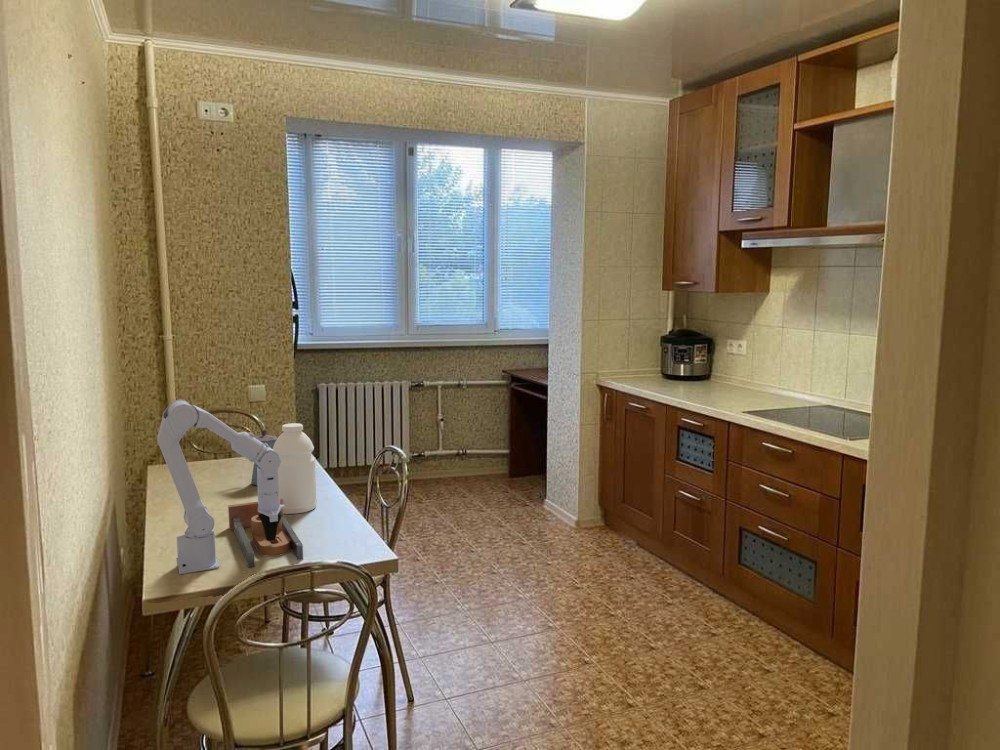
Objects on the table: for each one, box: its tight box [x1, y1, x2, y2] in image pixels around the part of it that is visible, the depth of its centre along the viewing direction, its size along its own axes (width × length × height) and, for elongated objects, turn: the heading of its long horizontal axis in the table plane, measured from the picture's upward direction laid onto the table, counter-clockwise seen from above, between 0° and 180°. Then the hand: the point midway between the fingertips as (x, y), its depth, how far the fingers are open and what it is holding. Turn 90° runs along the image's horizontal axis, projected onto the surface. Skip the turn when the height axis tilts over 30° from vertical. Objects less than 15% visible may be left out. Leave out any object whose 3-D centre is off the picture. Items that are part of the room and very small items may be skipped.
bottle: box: [273, 422, 318, 515], centre depth 241 cm, size 14×14×28 cm
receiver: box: [227, 499, 304, 569], centre depth 211 cm, size 16×36×7 cm, turn 26°
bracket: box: [251, 515, 292, 557], centre depth 208 cm, size 18×8×7 cm, turn 30°
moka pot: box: [251, 430, 278, 487], centre depth 272 cm, size 10×15×20 cm, turn 81°
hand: (270, 539), depth 202 cm, fingers closed
